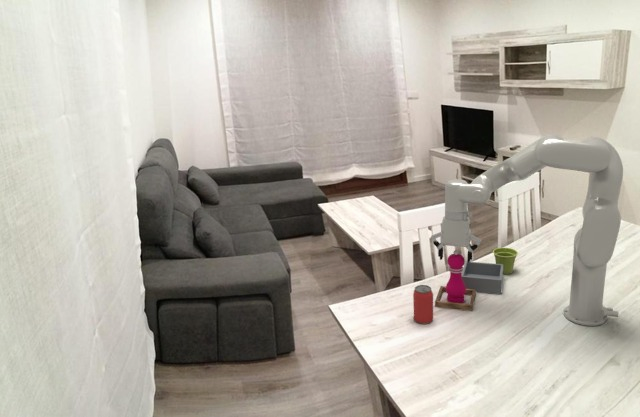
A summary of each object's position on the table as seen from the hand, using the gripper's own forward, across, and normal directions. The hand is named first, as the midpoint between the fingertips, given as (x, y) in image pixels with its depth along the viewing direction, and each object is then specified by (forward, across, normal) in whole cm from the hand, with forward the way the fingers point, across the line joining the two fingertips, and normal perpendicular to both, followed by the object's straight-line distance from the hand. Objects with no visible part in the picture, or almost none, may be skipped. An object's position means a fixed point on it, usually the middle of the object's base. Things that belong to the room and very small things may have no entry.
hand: (455, 259), depth 174 cm
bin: (+16, -9, -16) cm, 24 cm away
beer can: (+17, +8, +16) cm, 25 cm away
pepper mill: (+16, -1, 0) cm, 17 cm away
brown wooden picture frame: (+16, -1, 0) cm, 16 cm away
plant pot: (+16, -16, -29) cm, 37 cm away
